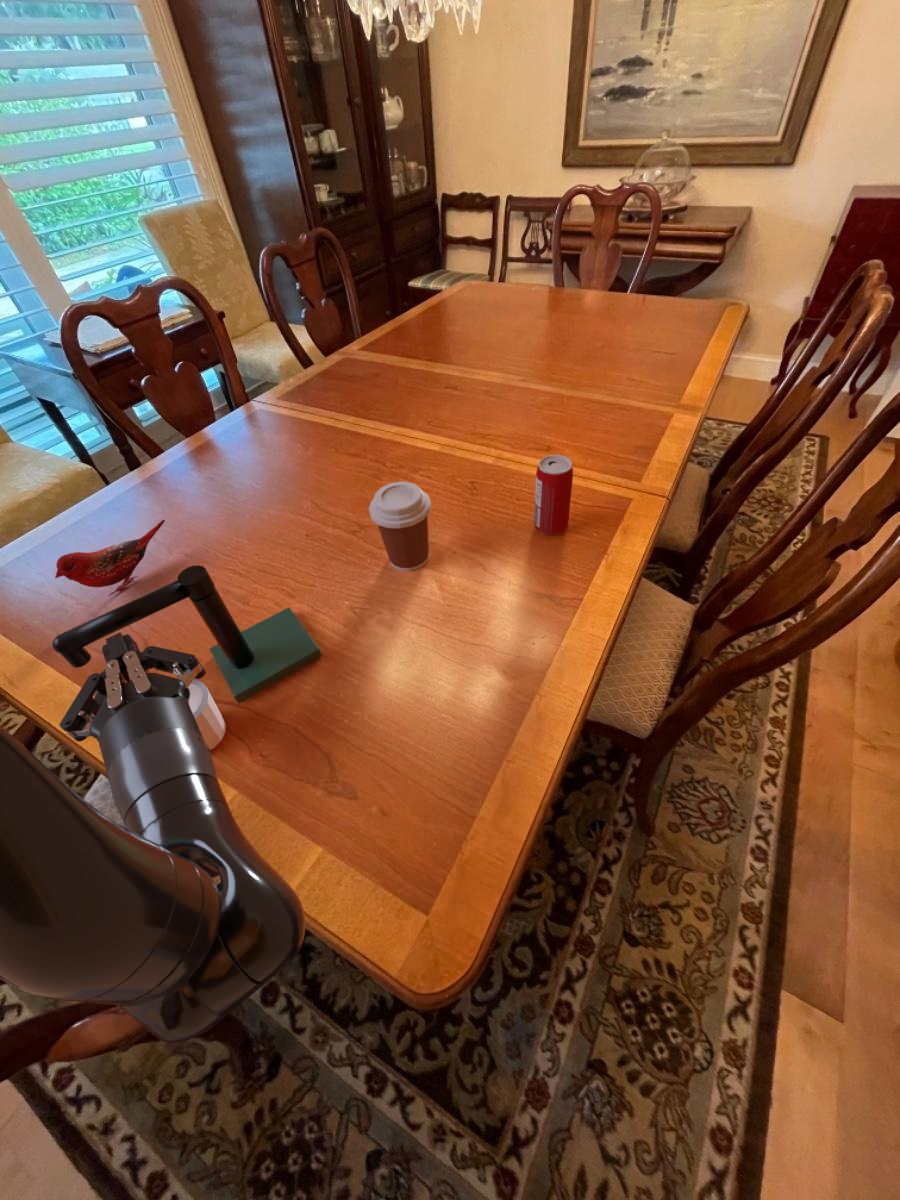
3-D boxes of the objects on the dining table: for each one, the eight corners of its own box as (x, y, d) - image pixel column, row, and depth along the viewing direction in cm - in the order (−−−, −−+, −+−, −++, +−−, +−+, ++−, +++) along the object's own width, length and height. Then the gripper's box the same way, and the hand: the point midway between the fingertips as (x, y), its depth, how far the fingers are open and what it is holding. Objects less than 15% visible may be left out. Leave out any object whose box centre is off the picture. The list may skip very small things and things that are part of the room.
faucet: (238, 703, 68) (189, 629, 58) (213, 654, 74) (164, 580, 64) (322, 655, 73) (290, 579, 62) (292, 613, 79) (258, 537, 68)
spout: (73, 675, 57) (49, 651, 54) (68, 656, 58) (44, 632, 56) (224, 601, 63) (210, 575, 60) (215, 586, 64) (201, 561, 61)
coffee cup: (426, 581, 81) (416, 518, 72) (371, 571, 83) (355, 509, 75) (445, 543, 87) (438, 480, 78) (394, 535, 89) (381, 473, 81)
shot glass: (162, 749, 65) (132, 719, 60) (199, 703, 69) (175, 671, 64) (206, 767, 62) (179, 737, 57) (242, 718, 67) (220, 687, 62)
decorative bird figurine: (81, 611, 83) (40, 563, 75) (176, 545, 92) (148, 497, 85) (91, 618, 81) (50, 570, 74) (186, 550, 91) (159, 502, 84)
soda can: (574, 528, 87) (582, 464, 78) (547, 541, 85) (551, 477, 76) (554, 511, 90) (559, 448, 81) (527, 523, 89) (529, 460, 80)
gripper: (217, 697, 45) (164, 586, 55) (49, 791, 40) (24, 650, 51) (249, 741, 50) (194, 632, 61) (103, 828, 46) (71, 694, 56)
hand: (117, 640), depth 56 cm, fingers closed
